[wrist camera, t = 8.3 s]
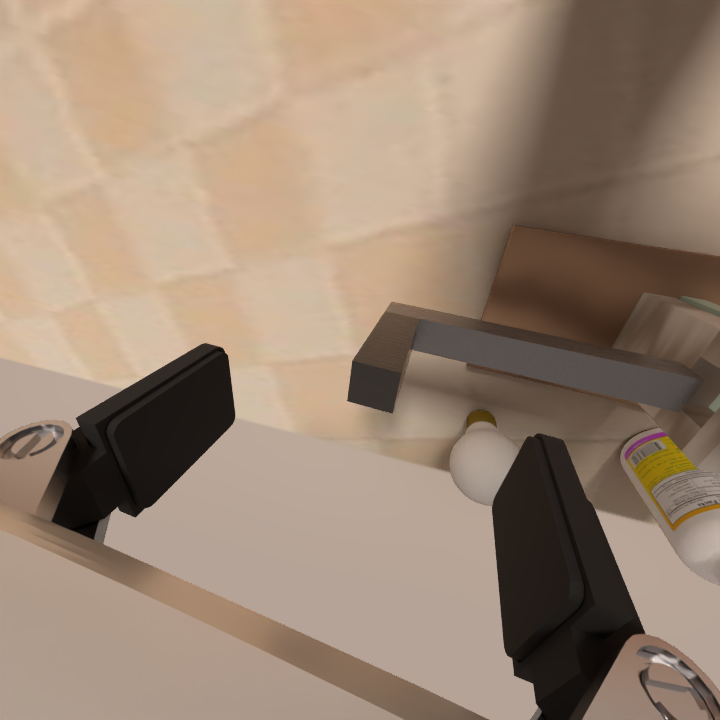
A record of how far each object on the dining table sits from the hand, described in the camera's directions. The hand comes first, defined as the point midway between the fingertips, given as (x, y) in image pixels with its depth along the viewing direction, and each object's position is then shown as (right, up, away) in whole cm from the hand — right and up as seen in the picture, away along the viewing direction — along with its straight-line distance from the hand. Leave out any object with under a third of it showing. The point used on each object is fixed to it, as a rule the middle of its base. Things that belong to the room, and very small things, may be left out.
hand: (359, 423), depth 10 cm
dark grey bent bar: (+10, +3, +9) cm, 13 cm away
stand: (+22, +5, +15) cm, 27 cm away
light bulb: (+13, -4, +22) cm, 26 cm away
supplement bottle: (+28, -6, +19) cm, 34 cm away
